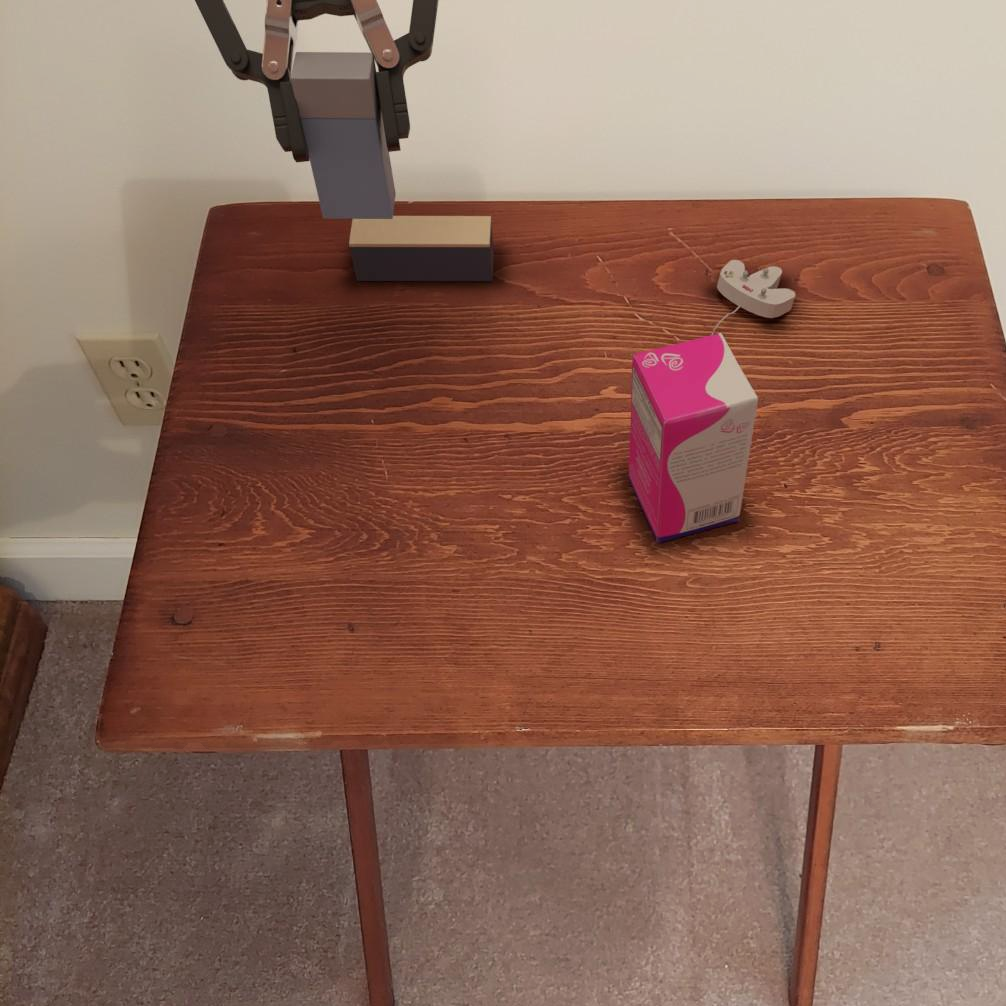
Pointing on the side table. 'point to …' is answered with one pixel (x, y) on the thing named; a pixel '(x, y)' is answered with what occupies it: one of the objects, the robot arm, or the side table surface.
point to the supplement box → (690, 436)
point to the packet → (344, 133)
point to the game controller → (754, 290)
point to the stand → (423, 248)
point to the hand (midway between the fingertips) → (347, 153)
